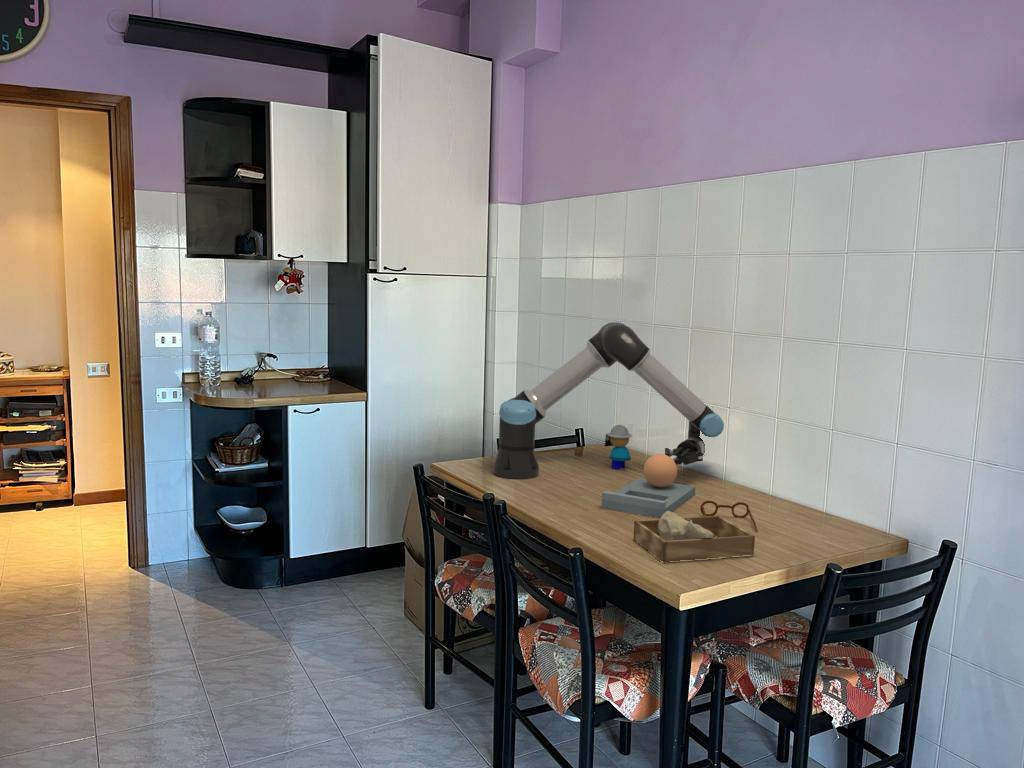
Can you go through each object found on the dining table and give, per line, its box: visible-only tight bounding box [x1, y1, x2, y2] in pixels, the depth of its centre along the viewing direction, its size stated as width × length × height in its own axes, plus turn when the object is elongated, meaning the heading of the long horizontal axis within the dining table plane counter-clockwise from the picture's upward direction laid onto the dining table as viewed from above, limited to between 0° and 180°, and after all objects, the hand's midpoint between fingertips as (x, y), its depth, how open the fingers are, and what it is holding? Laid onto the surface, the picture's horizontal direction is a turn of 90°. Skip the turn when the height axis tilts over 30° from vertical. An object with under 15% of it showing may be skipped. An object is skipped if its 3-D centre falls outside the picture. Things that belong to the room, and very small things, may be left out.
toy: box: [604, 424, 633, 471], centre depth 272 cm, size 8×9×15 cm
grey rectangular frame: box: [601, 477, 696, 519], centre depth 232 cm, size 30×18×4 cm, turn 151°
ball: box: [643, 453, 678, 488], centre depth 238 cm, size 10×10×10 cm
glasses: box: [699, 500, 759, 533], centre depth 213 cm, size 13×13×5 cm
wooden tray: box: [632, 515, 756, 562], centre depth 192 cm, size 16×23×5 cm
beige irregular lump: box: [658, 511, 715, 541], centre depth 191 cm, size 15×7×15 cm
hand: (668, 463), depth 244 cm, fingers closed
